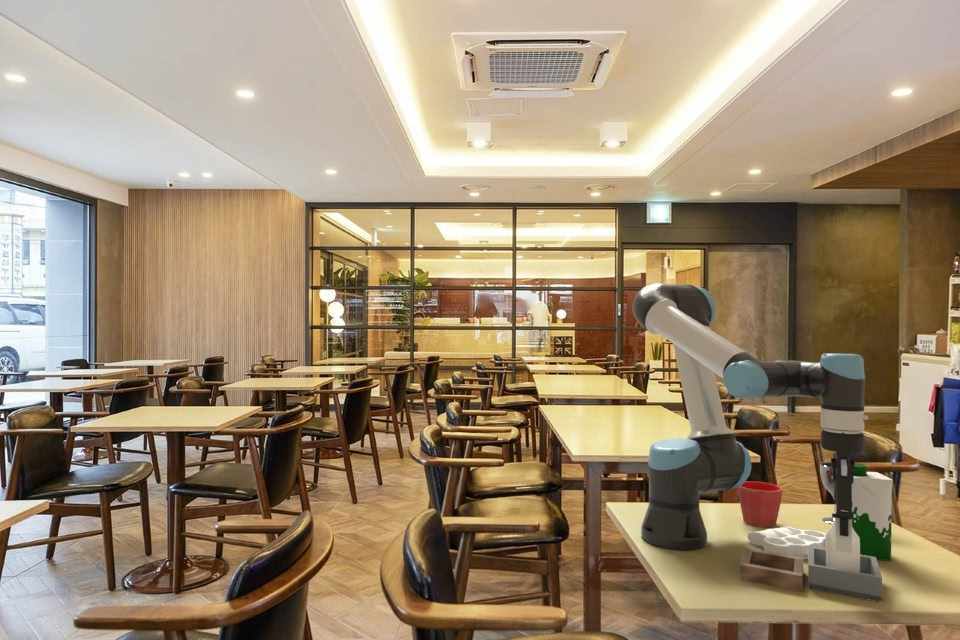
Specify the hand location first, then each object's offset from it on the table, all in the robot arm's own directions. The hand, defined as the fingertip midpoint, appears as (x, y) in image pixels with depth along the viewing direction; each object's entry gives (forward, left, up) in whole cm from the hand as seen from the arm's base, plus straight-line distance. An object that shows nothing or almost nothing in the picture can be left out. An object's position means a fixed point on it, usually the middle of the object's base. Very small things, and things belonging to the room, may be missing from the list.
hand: (842, 544), depth 118 cm
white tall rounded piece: (0, 0, -7) cm, 7 cm away
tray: (0, 0, -8) cm, 8 cm away
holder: (-12, -3, -8) cm, 15 cm away
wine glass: (+1, +46, -8) cm, 47 cm away
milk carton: (+6, +22, -8) cm, 24 cm away
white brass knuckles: (-10, +17, -8) cm, 21 cm away
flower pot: (-17, +34, -8) cm, 39 cm away
